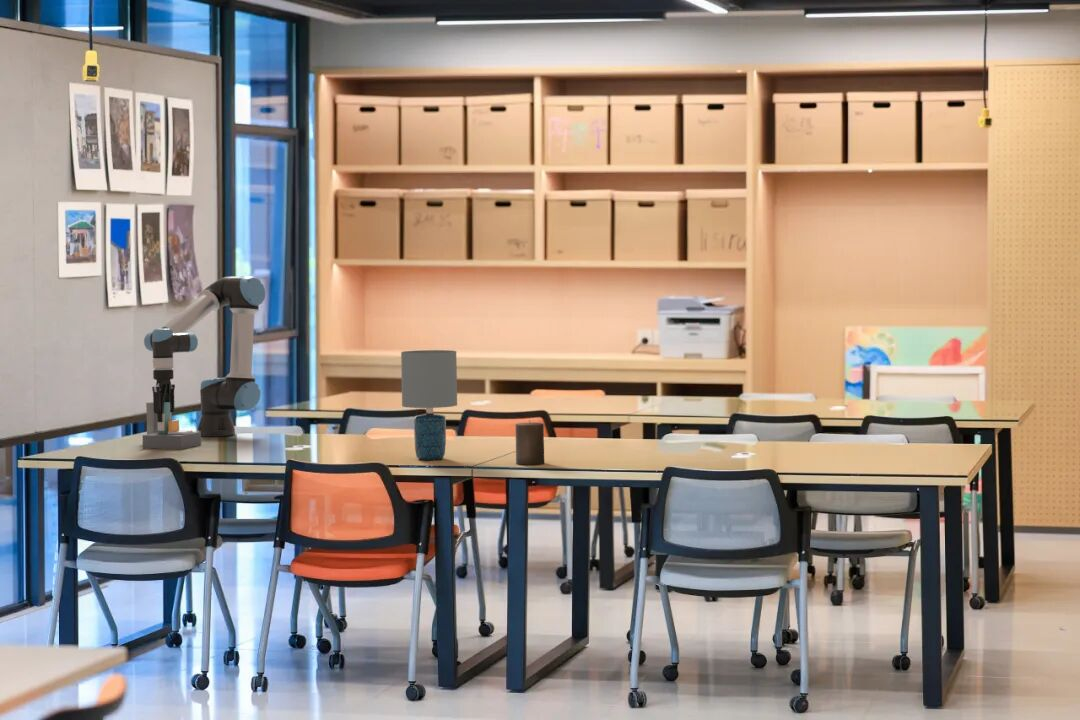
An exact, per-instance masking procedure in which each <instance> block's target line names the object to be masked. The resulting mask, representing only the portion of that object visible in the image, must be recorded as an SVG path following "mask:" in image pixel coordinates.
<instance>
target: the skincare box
mask: <svg viewBox="0 0 1080 720" xmlns="http://www.w3.org/2000/svg"><path fill="white" fill-rule="evenodd" d="M145 405H146V406H145V407H146V434H151V433H156V432H159V431H158V423H157V414H155V413H154V405H153V401H152V402H146V403H145ZM171 421H173V412H171Z"/></svg>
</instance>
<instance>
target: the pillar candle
mask: <svg viewBox="0 0 1080 720" xmlns="http://www.w3.org/2000/svg"><path fill="white" fill-rule="evenodd" d="M528 421H529V422H519V423H515V425H514V426H515V461H516V463H515V464H516V465H519V466H521V465H523V466H533V465H535V466H537V465H538V466H539V465H544V464H545V438H544V437H545V435H544V433H545V432H544V427H545V426H544V423H543V422H531V420H530V419H529V420H528Z"/></svg>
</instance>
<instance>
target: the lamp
mask: <svg viewBox="0 0 1080 720" xmlns="http://www.w3.org/2000/svg"><path fill="white" fill-rule="evenodd" d="M400 357H401V358H400V360H401V361H400V362H401V363H400V364H401V365H400V367H401V370H400V371H401V406H402V407H403V408H413V409H422V408H423V409H425V413H423V414H419V415H414V417H413V431H414V432H413V434H414V437H413V438H414V450H415V451H414V452H415V456H416V458H417V459H418V460H420V459H421V461H437V460H442V459H443V458H445V453H446V443H447V441H446V440H447V421H446V416H445V415H443V414H438V413H434V409H436V408H437V409H438V408H439V409H442V408H450V407H451V408H452V407H455V406H458V381H457V380H458V379H457V378H458V376H457V373H458V372H457V367H458V366H457V350H452V349H450V350H449V349H448V350H444V349H441V350H439V349H437V350H436V349H433V350H432V349H431V350H429V349H428V350H427V349H426V350H423V349H421V350H407V351H406V350H405V351H401V352H400Z"/></svg>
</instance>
